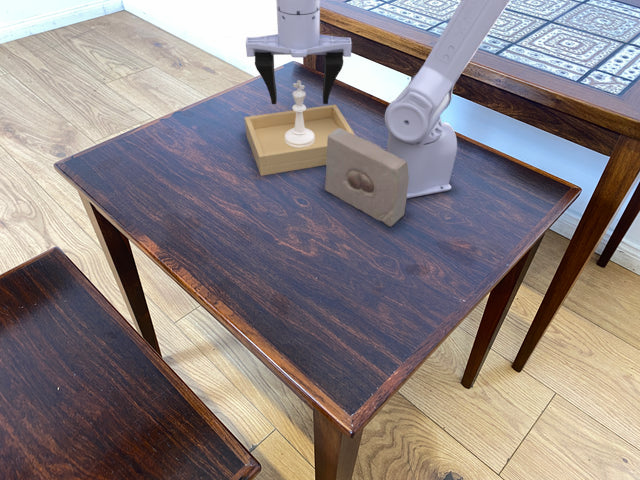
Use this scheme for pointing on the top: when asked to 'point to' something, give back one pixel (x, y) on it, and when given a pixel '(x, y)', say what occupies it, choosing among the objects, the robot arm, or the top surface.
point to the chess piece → (299, 122)
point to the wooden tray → (280, 156)
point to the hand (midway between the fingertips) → (299, 100)
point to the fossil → (366, 176)
